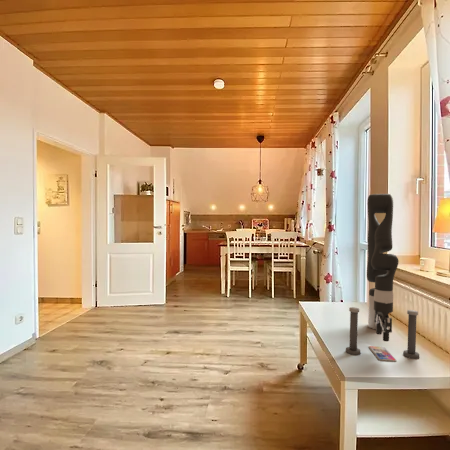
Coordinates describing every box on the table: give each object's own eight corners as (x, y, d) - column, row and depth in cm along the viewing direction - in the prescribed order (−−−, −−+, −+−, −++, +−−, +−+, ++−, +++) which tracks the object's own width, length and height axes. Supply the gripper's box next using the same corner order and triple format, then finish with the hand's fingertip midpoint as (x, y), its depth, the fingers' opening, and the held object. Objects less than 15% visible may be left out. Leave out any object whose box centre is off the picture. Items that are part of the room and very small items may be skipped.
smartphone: (384, 346, 153) (397, 360, 138) (384, 349, 153) (397, 363, 138) (367, 345, 154) (378, 359, 139) (367, 347, 154) (378, 361, 139)
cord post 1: (344, 349, 151) (345, 306, 150) (358, 350, 150) (359, 307, 150) (347, 354, 145) (348, 310, 144) (362, 355, 144) (363, 310, 144)
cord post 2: (401, 352, 148) (402, 308, 148) (415, 353, 148) (416, 309, 147) (406, 358, 142) (408, 312, 142) (421, 359, 142) (423, 313, 141)
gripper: (369, 295, 153) (368, 331, 154) (379, 303, 139) (378, 343, 139) (386, 296, 152) (385, 332, 153) (399, 304, 138) (398, 344, 139)
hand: (382, 337), depth 146 cm, fingers open, 8 cm apart
